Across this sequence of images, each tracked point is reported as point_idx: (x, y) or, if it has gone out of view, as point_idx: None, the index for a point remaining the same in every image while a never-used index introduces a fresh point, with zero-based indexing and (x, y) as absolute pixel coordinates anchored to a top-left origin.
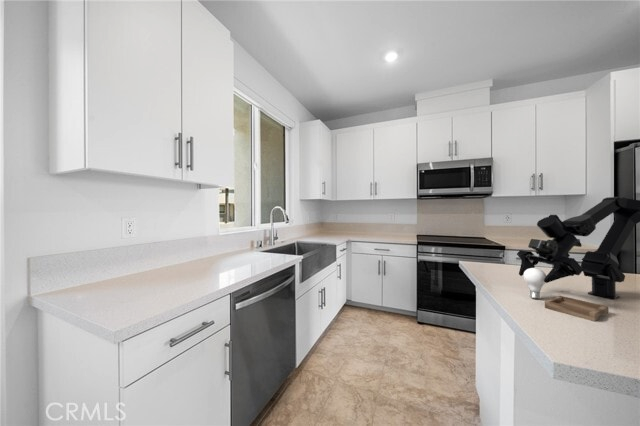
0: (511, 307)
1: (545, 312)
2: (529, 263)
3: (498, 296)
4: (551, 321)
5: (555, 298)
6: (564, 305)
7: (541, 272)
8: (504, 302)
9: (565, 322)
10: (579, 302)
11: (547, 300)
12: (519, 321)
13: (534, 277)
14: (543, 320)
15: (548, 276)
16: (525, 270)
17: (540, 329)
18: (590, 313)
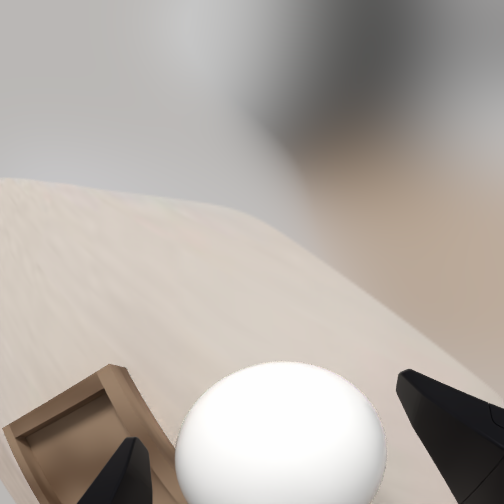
0: (135, 220)
1: (80, 324)
2: (502, 501)
3: (289, 242)
4: (25, 277)
5: (160, 466)
6: (59, 405)
7: (193, 495)
8: (195, 224)
9: (16, 317)
10: None
11: (118, 388)
12: (46, 188)
13: (194, 403)
14: (34, 258)
15: (101, 472)
16: (338, 392)
17: (9, 212)
18: (10, 425)
